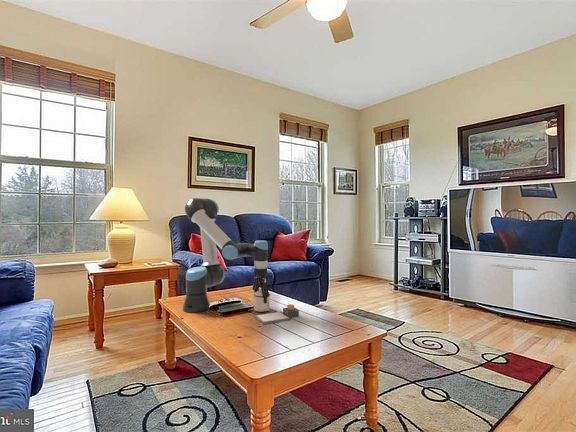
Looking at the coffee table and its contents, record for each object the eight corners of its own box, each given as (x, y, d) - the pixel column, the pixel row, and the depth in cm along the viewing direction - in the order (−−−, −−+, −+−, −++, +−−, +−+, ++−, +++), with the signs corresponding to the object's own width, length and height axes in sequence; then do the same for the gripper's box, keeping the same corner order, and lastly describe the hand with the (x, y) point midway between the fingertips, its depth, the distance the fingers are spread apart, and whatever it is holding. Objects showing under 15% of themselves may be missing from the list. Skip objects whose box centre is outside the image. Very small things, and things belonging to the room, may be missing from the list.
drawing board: (254, 316, 172) (254, 315, 172) (280, 312, 179) (280, 311, 179) (263, 324, 160) (263, 322, 160) (290, 319, 167) (290, 318, 167)
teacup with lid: (272, 309, 182) (273, 289, 181) (260, 313, 176) (260, 291, 175) (260, 304, 190) (260, 285, 190) (247, 307, 184) (247, 287, 184)
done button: (286, 310, 175) (286, 304, 175) (292, 309, 177) (292, 304, 177) (289, 312, 172) (289, 306, 172) (295, 311, 174) (295, 305, 174)
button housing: (282, 314, 176) (282, 308, 176) (293, 313, 179) (293, 306, 179) (288, 318, 170) (288, 311, 170) (298, 316, 173) (298, 309, 173)
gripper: (275, 271, 174) (274, 310, 174) (259, 264, 195) (258, 299, 195) (262, 271, 170) (262, 312, 170) (247, 264, 192) (246, 300, 192)
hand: (260, 305), depth 183 cm, fingers closed on teacup with lid, 12 cm apart
